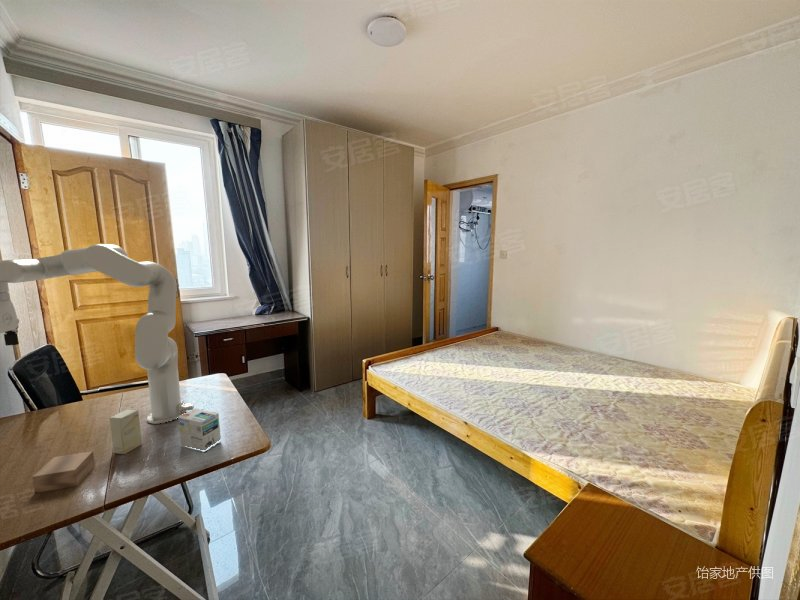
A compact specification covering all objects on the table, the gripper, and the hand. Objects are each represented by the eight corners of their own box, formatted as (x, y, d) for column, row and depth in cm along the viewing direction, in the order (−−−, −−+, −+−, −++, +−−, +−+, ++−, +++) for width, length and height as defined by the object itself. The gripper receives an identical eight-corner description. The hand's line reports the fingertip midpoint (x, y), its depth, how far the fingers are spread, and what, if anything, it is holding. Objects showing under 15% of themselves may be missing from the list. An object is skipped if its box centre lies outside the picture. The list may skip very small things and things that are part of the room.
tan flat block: (95, 466, 100) (93, 451, 99) (77, 486, 92) (75, 469, 91) (56, 472, 97) (54, 456, 96) (35, 493, 89) (32, 476, 88)
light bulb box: (221, 442, 113) (219, 412, 111) (204, 453, 106) (201, 422, 105) (198, 436, 116) (195, 407, 114) (179, 447, 110) (177, 416, 108)
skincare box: (124, 454, 105) (120, 418, 104) (112, 453, 106) (108, 417, 104) (142, 443, 111) (139, 409, 110) (131, 442, 112) (127, 408, 110)
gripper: (-15, 301, 102) (-6, 355, 104) (26, 294, 118) (34, 341, 120) (-49, 302, 99) (-38, 357, 102) (-2, 295, 115) (6, 343, 118)
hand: (1, 348), depth 111 cm, fingers open, 9 cm apart
